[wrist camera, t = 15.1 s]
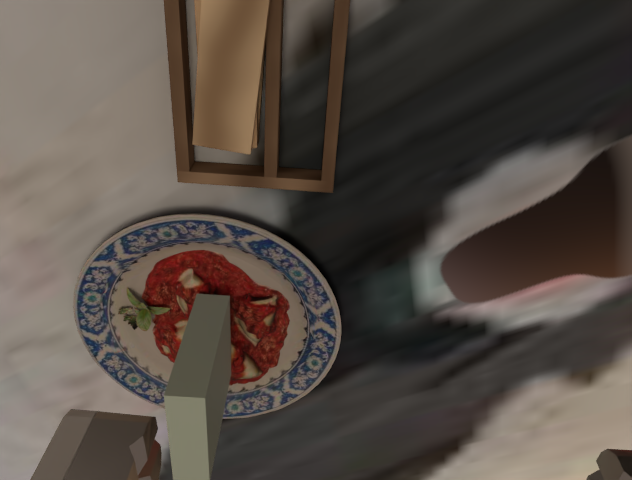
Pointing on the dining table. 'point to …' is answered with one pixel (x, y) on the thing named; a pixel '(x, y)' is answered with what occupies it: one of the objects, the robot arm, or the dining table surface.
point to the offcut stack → (229, 73)
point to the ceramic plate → (215, 279)
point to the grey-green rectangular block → (199, 388)
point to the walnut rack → (270, 171)
